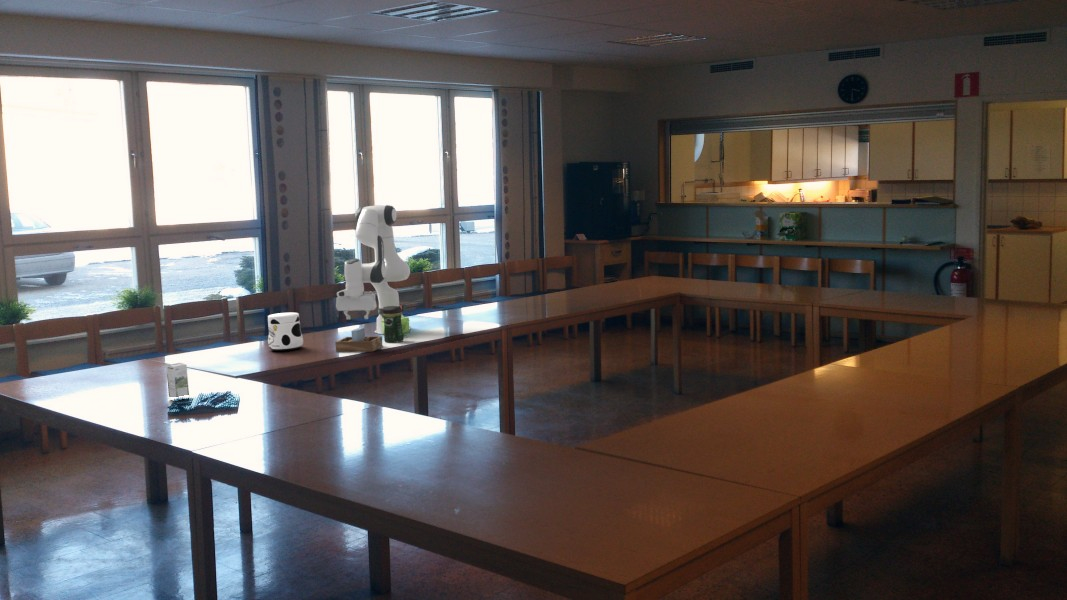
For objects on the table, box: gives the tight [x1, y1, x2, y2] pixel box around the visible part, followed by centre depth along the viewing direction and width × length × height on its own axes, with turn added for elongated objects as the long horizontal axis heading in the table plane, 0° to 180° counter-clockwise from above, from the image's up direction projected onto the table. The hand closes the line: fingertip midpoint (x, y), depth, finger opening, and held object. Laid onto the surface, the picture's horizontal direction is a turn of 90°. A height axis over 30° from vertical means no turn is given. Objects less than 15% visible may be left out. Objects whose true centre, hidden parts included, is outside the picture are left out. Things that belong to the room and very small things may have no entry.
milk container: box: [267, 312, 304, 352], centre depth 482 cm, size 17×17×18 cm
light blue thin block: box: [351, 327, 366, 341], centre depth 474 cm, size 10×3×9 cm, turn 168°
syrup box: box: [165, 362, 190, 398], centre depth 379 cm, size 6×6×14 cm
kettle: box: [382, 316, 411, 337], centre depth 507 cm, size 15×14×11 cm
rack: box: [334, 335, 383, 353], centre depth 474 cm, size 14×19×5 cm
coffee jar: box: [382, 305, 405, 343], centre depth 490 cm, size 10×8×19 cm
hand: (357, 319), depth 473 cm, fingers open, 8 cm apart
